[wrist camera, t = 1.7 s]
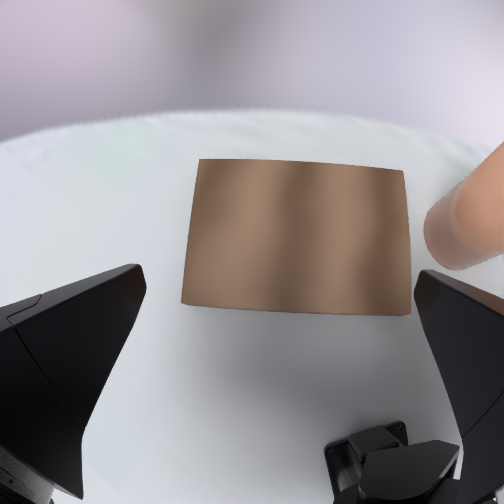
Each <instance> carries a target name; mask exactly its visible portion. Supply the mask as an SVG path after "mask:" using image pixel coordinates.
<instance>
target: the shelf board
mask: <svg viewBox="0 0 504 504" xmlns="http://www.w3.org/2000/svg"><path fill="white" fill-rule="evenodd" d="M181 303H183V304H186V305H193V306H204V307H216V308H228V309H242V310H256V311H272V312H291V313H312V314H340V315H408V314H411V262H410V239H409V224H408V211H407V201H406V191H405V182H404V174H403V171H401V170H393V169H384V168H375V167H366V166H355V165H344V164H332V163H318V162H302V161H282V160H253V159H199V164H198V171H197V177H196V184H195V190H194V197H193V204H192V212H191V219H190V227H189V234H188V243H187V251H186V260H185V268H184V278H183V288H182V298H181Z"/></svg>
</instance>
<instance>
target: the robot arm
mask: <svg viewBox="0 0 504 504" xmlns="http://www.w3.org/2000/svg"><path fill="white" fill-rule="evenodd" d="M145 294H146V282H145V278H144V274H143V270H142V267H141V266H140V265H139V264H127V265H124V266H121V267H118V268H115V269H112V270H109V271H106V272H103V273H100V274H97V275H94V276H91V277H88V278H85V279H83V280H80V281H77V282H74V283H71V284H68V285H65V286H62V287H60V288H57V289H54V290H51V291H48V292H45V293H43V294H39V295H36V296H33V297H30V298H27V299H24V300H22V301H19V302H16V303H13V304H10V305H7V306H3V307H0V504H54V502H53V500H52V499H51V496H52V493H53V490H54V488H56V489H58V490H60V491H62V492H64V493H67V494H69V495H71V496H74V497H76V498H78V499H81V500H82V499H83V479H82V448H81V446H82V437H83V433H84V430H85V427H86V426H87V423H88V421H89V419H90V417H91V414H92V412H93V410H94V407H95V405H96V403H97V401H98V399H99V396H100V394H101V392H102V390H103V388H104V385H105V383H106V381H107V379H108V377H109V375H110V373H111V370H112V368H113V366H114V364H115V362H116V360H117V358H118V356H119V354H120V352H121V350H122V348H123V346H124V344H125V342H126V340H127V338H128V336H129V334H130V332H131V330H132V328H133V325H134V323H135V321H136V318H137V315H138V313H139V310H140V307H141V304H142V302H143V299H144V296H145ZM414 300H415V303H416V306H417V309H418V313H419V316H420V320H421V323H422V327H423V330H424V333H425V335H426V338H427V340H428V343H429V345H430V348H431V350H432V353H433V355H434V358H435V360H436V363H437V366H438V368H439V371H440V374H441V377H442V379H443V382H444V385H445V388H446V391H447V394H448V397H449V400H450V403H451V406H452V409H453V412H454V415H455V418H456V422H457V425H458V428H459V432H460V435H461V438H462V443H463V451H464V454H463V463H462V469H461V475H460V480H457V479H453V477H454V473H455V468H456V464H457V459H458V454H459V449H460V447H459V446H458V445H454V444H450V443H447V442H443V441H440V440H433V441H428V442H423V443H418V444H413V445H408V439H407V432H406V426H405V423H403V422H402V421H396V422H393V423H391V424H388V425H386V426H380V425H379V426H376V427H374V428H371V429H368V430H365V431H362V432H359V433H356V434H353V435H350V436H349V437H348V439H346V440H342V441H339V442H336V443H332V444H329V445H327V446H326V447H325V448H324V454H325V459H326V463H327V467H328V472H329V476H330V480H331V485H332V489H333V494H334V498H335V499H334V502H333V504H504V299H502V298H500V297H497V296H495V295H493V294H490V293H488V292H486V291H483V290H481V289H478V288H476V287H474V286H471V285H469V284H466V283H464V282H461V281H459V280H456V279H454V278H451V277H449V276H446V275H444V274H441V273H439V272H436V271H434V270H422V271H421V272H420V274H419V277H418V280H417V283H416V286H415V290H414ZM399 425H401V427H400V428H399V429H397V426H399ZM329 449H334V450H333V452H331V453H329V452H328V450H329ZM495 497H496V501H494V500H493V498H495Z"/></svg>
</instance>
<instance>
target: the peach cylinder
mask: <svg viewBox="0 0 504 504" xmlns="http://www.w3.org/2000/svg"><path fill="white" fill-rule="evenodd" d="M424 238H425V242H426V245H427V248H428V250H429V252H430V253H431V255H432V256H433V258H434V259H435V260H436V261H437V262H438V263H439V264H440V265H442V266H443V267H445V268H447V269H450V270H462V269H465V268H468V267H470V266H473V265H475V264H478V263H481V262H483V261H486V260H488V259H491V258H493V257H496V256H498V255H500V254H503V253H504V142H503V143H502V144H501V145H500V146H499V147H498V148H497V149H496V150H495V151H494V152H492V153H491V154H490V155H489V156H488V157H487V158H486V159H485V160H484V161H483V162H482V163H481V164H480V165H479V166H478V167H477V168H476V169H475V170H474V171H472V172H471V173H470V174H469V175H468V176H467V177H466V178H465V179H464V180H463V181H462V182H460V183H459V184H458V185H457V186H456V187H455V188H454V189H453V190H452V191H450V192H449V193H448V194H447V195H446V196H445V197H444V198H443V199H441V200H440V201H439V202H438V203H437V204H436V205H435V206H433V207H432V208H431V209H430V210H429V212H428V214H427V216H426V218H425V222H424Z"/></svg>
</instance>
